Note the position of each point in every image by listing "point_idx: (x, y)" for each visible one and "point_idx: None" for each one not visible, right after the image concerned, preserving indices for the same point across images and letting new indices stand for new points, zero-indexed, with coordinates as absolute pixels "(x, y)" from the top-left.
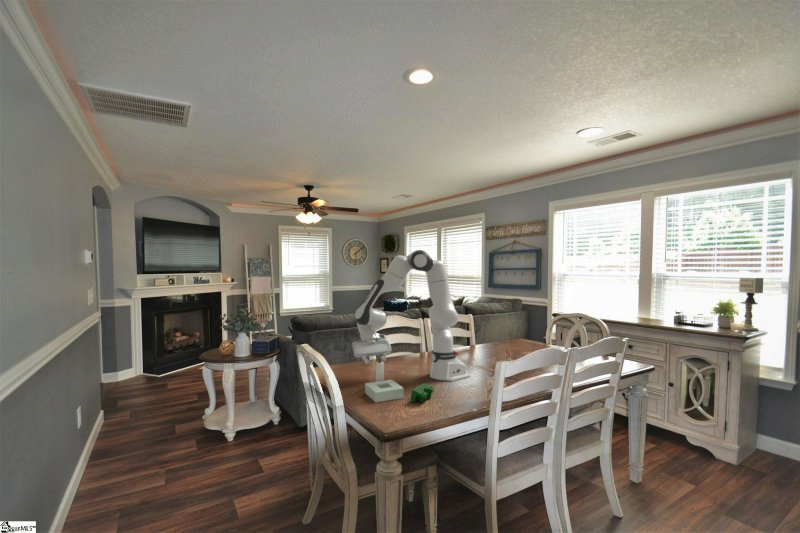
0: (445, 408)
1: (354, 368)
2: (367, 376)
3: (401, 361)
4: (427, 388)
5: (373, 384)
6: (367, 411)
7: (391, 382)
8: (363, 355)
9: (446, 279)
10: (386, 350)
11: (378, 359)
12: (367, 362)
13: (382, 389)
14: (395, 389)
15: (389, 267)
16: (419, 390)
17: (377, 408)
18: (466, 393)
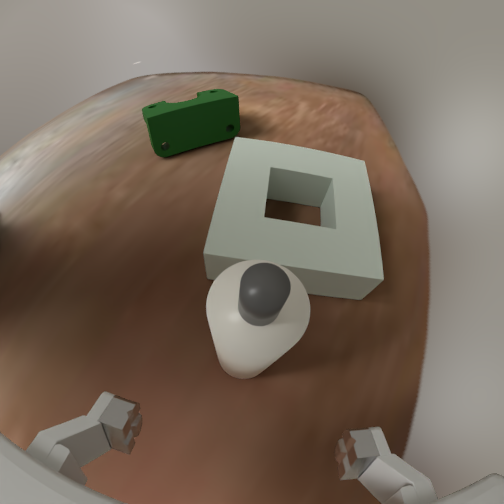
0: (190, 90)
1: None
2: None
3: None
4: (170, 103)
5: (347, 239)
6: (386, 160)
7: (238, 212)
8: (426, 494)
9: None
10: (1, 445)
11: (287, 289)
12: (365, 428)
13: (328, 167)
14: (275, 142)
15: None
16: (213, 95)
17: (356, 157)
18: (68, 129)
